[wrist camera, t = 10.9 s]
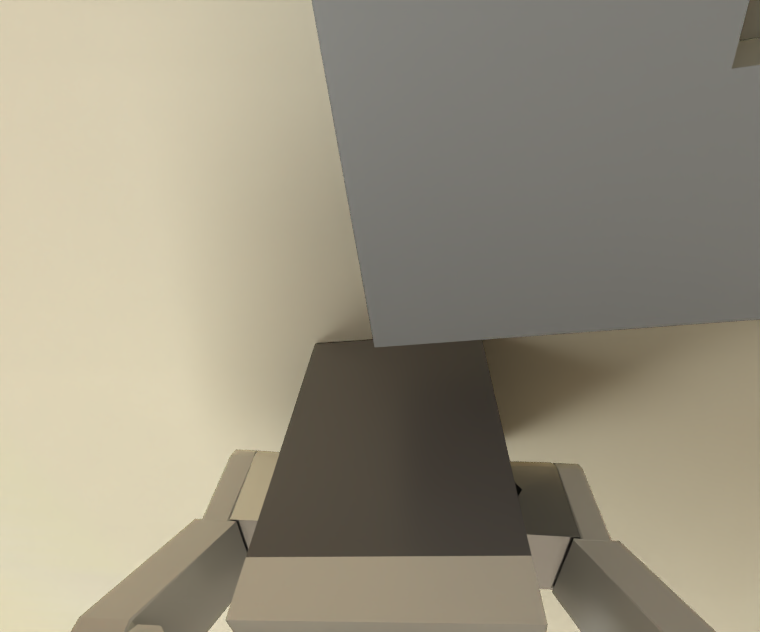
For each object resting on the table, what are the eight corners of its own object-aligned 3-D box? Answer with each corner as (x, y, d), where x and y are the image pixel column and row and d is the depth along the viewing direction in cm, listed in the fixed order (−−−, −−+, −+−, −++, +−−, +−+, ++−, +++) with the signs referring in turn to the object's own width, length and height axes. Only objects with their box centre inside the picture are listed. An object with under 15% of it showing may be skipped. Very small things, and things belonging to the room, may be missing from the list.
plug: (481, 447, 12) (529, 734, 7) (343, 452, 13) (297, 723, 8) (479, 332, 10) (547, 624, 5) (315, 343, 11) (225, 619, 6)
